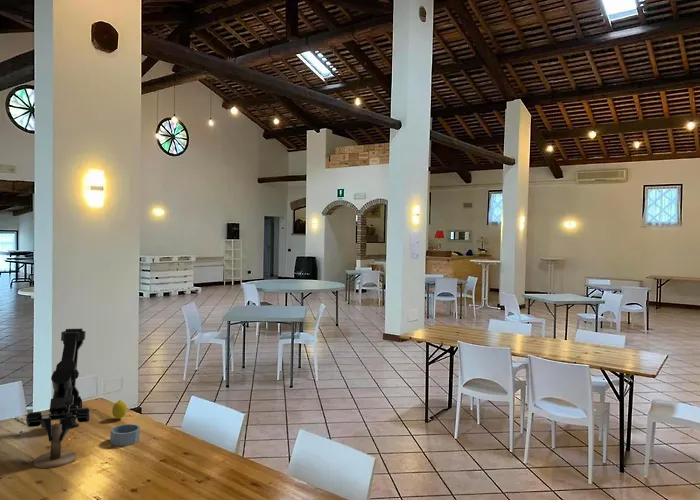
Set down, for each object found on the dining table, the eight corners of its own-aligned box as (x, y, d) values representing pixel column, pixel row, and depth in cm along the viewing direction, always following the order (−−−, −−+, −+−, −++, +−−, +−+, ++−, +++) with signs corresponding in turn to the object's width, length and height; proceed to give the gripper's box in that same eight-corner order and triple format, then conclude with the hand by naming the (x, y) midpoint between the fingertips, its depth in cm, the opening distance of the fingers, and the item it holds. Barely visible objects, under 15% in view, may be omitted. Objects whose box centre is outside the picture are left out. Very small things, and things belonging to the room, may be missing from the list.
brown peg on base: (27, 460, 160) (29, 424, 160) (67, 449, 170) (69, 416, 170) (41, 472, 152) (43, 434, 153) (82, 460, 162) (84, 425, 162)
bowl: (105, 440, 179) (106, 428, 179) (131, 433, 187) (132, 422, 187) (118, 448, 173) (118, 435, 173) (144, 440, 181) (145, 428, 181)
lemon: (128, 417, 204) (129, 399, 204) (121, 421, 199) (122, 402, 199) (116, 416, 205) (117, 398, 205) (109, 420, 199) (110, 401, 200)
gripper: (28, 389, 161) (19, 433, 151) (90, 385, 169) (86, 426, 159) (32, 405, 168) (23, 448, 158) (91, 400, 176) (87, 441, 166)
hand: (55, 440), depth 160 cm, fingers closed on brown peg on base, 3 cm apart
